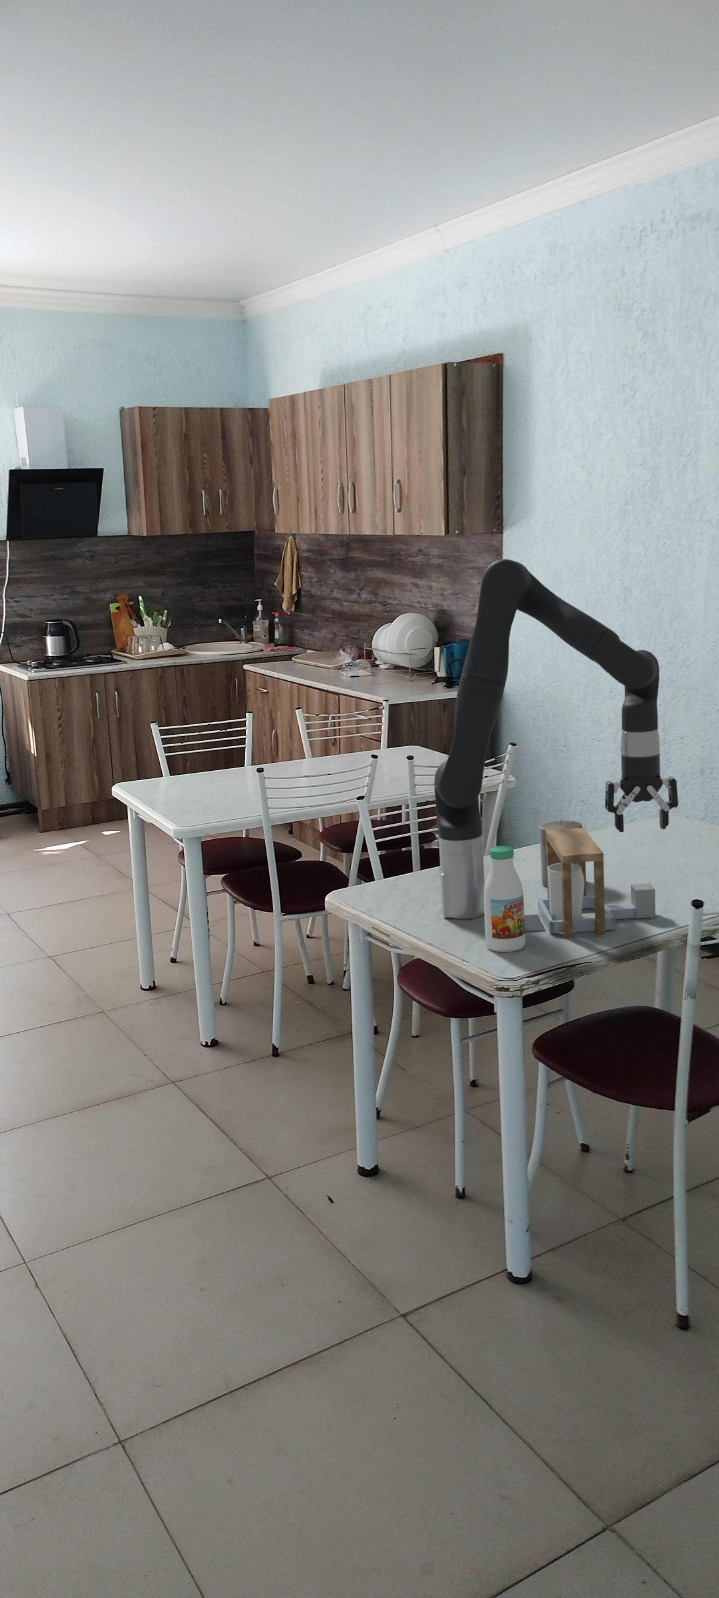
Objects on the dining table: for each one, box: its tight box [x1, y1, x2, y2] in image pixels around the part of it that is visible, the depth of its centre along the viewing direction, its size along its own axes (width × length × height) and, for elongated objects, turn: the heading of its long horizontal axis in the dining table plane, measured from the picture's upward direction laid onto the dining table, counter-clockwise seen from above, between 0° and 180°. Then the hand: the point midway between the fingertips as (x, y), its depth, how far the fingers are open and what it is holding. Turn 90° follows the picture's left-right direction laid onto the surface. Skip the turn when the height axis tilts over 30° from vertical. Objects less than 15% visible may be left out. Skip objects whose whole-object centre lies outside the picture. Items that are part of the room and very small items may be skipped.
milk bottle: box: [484, 845, 526, 953], centre depth 227 cm, size 8×8×20 cm
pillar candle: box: [538, 819, 583, 888], centre depth 265 cm, size 10×10×15 cm
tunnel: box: [545, 827, 606, 939], centre depth 239 cm, size 8×20×17 cm, turn 1°
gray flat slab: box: [524, 914, 546, 934], centre depth 241 cm, size 6×10×1 cm, turn 1°
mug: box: [548, 863, 584, 921], centre depth 240 cm, size 10×7×12 cm, turn 136°
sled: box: [537, 882, 656, 935], centre depth 240 cm, size 22×15×6 cm, turn 91°
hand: (641, 829), depth 237 cm, fingers open, 8 cm apart
